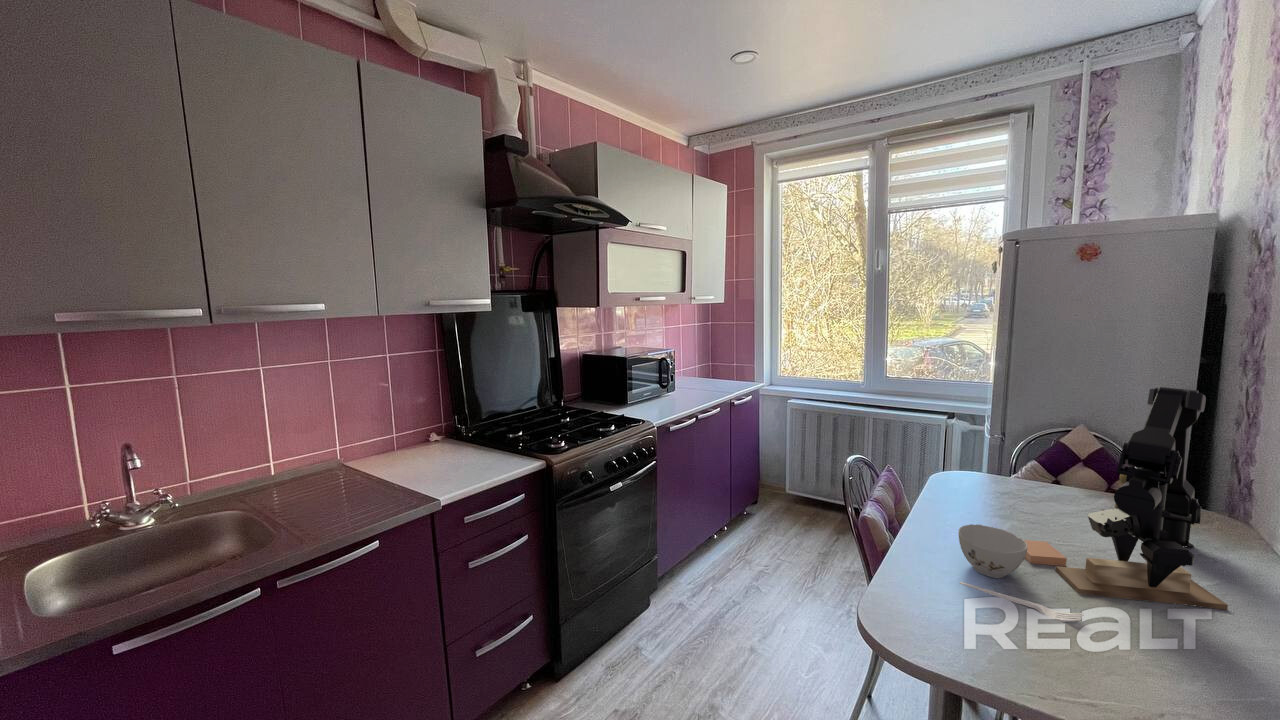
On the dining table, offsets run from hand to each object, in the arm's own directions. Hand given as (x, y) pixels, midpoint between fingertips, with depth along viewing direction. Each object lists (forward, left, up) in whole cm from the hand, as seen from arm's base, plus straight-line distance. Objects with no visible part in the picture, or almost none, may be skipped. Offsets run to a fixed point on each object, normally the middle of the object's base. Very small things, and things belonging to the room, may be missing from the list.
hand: (1136, 574), depth 105 cm
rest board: (0, 0, -3) cm, 3 cm away
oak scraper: (0, 0, -2) cm, 2 cm away
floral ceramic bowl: (+25, -2, -3) cm, 25 cm away
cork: (-23, -44, -3) cm, 50 cm away
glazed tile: (+9, -11, -2) cm, 15 cm away
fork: (+25, +11, -4) cm, 28 cm away
